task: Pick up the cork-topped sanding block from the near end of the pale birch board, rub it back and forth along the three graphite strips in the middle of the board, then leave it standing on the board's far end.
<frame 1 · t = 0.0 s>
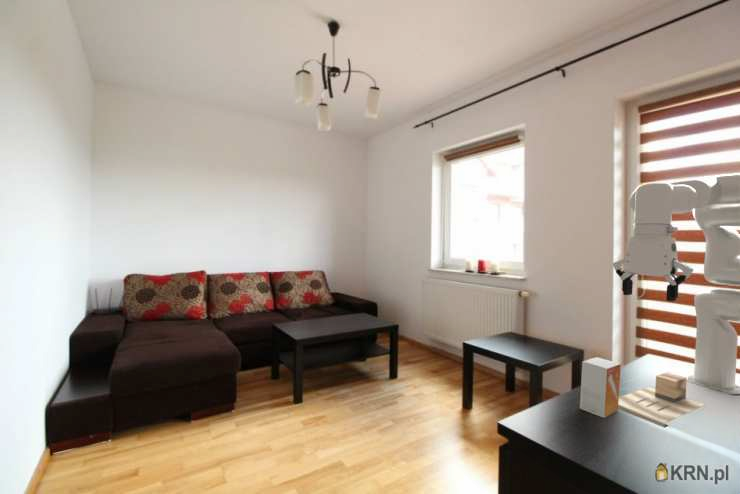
hand: (648, 297, 92), 31 cm above the table, tool pointing down, fingers open, 9 cm apart
small box: (598, 410, 96), on the table
board: (656, 406, 99), on the table
sanding block: (670, 397, 103), point 1 cm above the table, touching board
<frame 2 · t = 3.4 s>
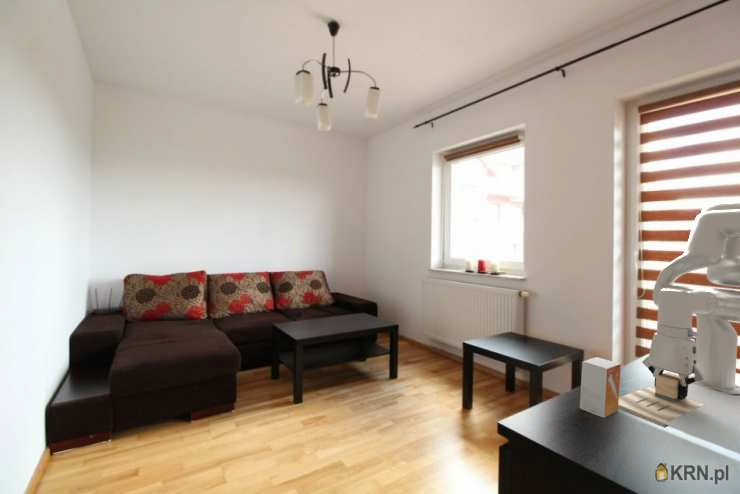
hand: (670, 393, 103), 2 cm above the table, tool pointing down, fingers closed on sanding block, 4 cm apart
sanding block: (670, 397, 103), point 1 cm above the table, touching board, gripper
everything else where it was.
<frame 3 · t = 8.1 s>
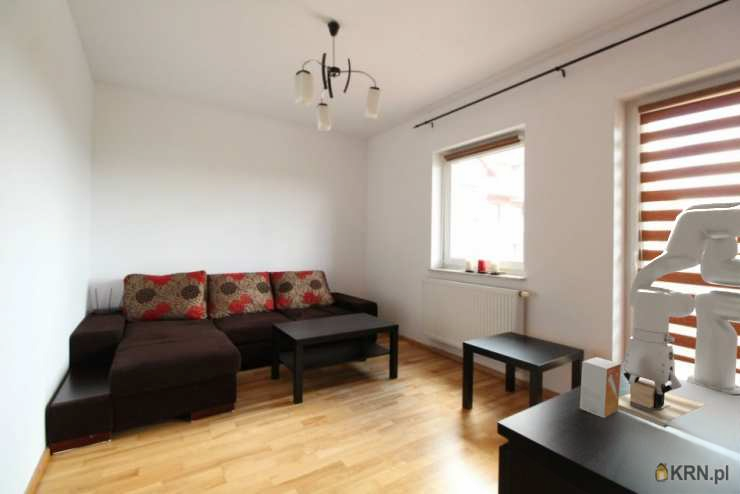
hand: (646, 402, 96), 2 cm above the table, tool pointing down, fingers closed on sanding block, 4 cm apart
sanding block: (646, 406, 96), point 1 cm above the table, touching gripper
everything else where it was.
when the fingers open (2 cm above the table, at t = 12.8 s): sanding block stays where it is, resting on board.
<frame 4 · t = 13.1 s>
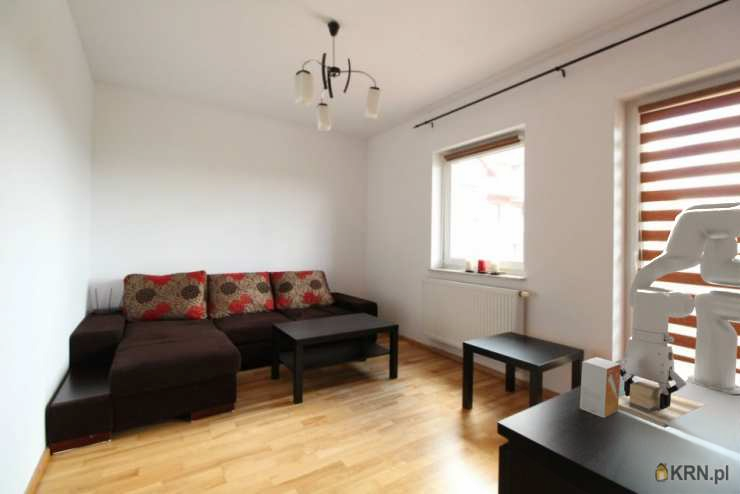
hand: (645, 400, 96), 3 cm above the table, tool pointing down, fingers open, 7 cm apart
sanding block: (645, 406, 96), point 1 cm above the table, touching board
everything else where it was.
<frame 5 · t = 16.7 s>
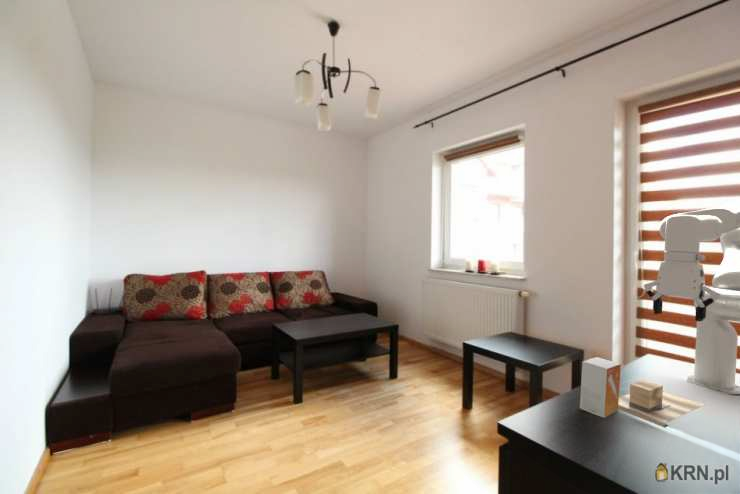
hand: (677, 317, 103), 24 cm above the table, tool pointing down, fingers open, 9 cm apart
nothing on the table moved.
at the end: sanding block inside the target area (0.5 cm from its centre), point 1.2 cm above the table; sanding block tilted 0°; the gripper is holding nothing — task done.
